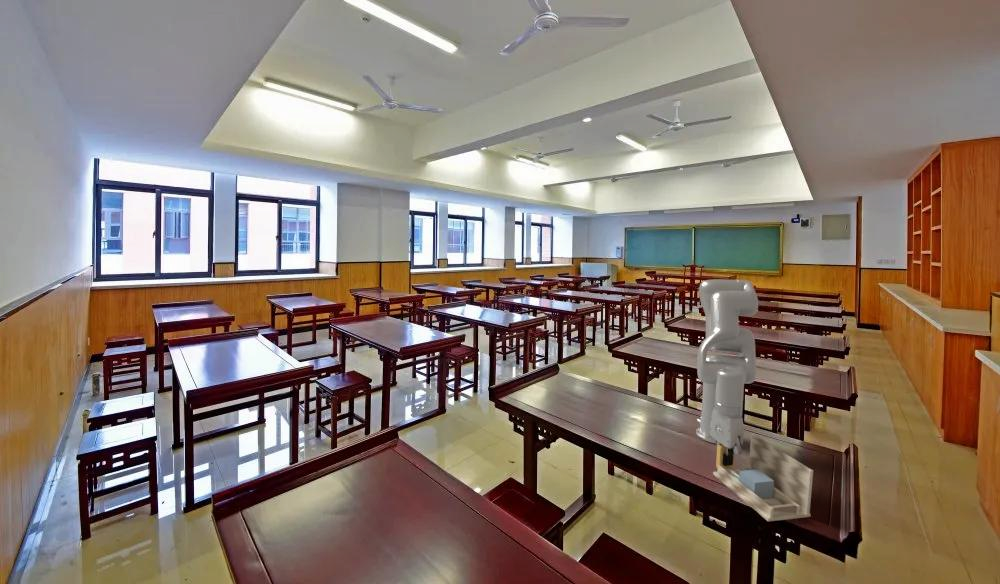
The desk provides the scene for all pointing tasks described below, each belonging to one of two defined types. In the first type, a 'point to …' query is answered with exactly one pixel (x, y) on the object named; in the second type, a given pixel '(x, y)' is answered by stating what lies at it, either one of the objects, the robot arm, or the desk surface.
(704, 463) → the desk surface
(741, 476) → the toy blocks
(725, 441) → the robot arm
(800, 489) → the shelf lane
